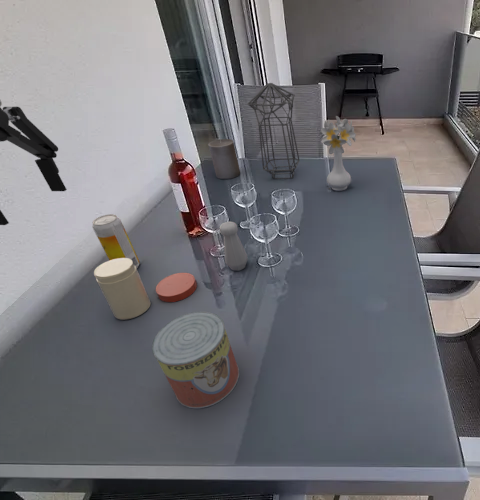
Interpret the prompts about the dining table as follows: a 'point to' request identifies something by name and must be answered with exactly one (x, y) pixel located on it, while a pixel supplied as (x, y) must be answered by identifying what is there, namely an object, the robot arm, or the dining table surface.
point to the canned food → (197, 359)
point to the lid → (176, 287)
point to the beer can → (114, 238)
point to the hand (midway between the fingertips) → (32, 206)
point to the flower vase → (338, 151)
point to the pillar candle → (224, 158)
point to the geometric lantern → (251, 104)
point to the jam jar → (122, 288)
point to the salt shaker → (233, 247)
